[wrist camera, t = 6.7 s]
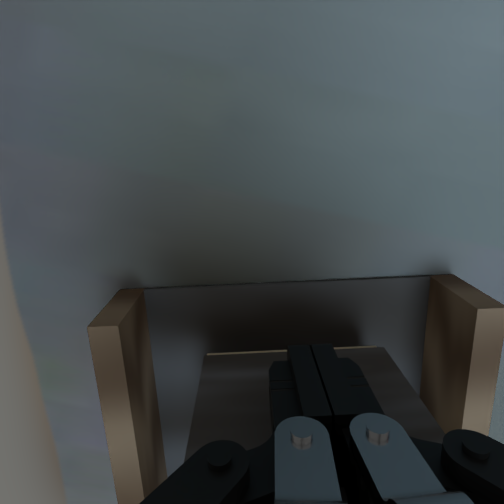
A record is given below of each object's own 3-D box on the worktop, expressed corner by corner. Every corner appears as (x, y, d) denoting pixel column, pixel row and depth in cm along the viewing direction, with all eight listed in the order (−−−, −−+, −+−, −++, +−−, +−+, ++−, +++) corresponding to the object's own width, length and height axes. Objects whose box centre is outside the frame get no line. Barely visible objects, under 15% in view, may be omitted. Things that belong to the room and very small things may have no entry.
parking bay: (120, 289, 18) (87, 327, 14) (452, 274, 18) (508, 307, 14) (161, 574, 23) (145, 659, 20) (421, 561, 24) (455, 642, 20)
